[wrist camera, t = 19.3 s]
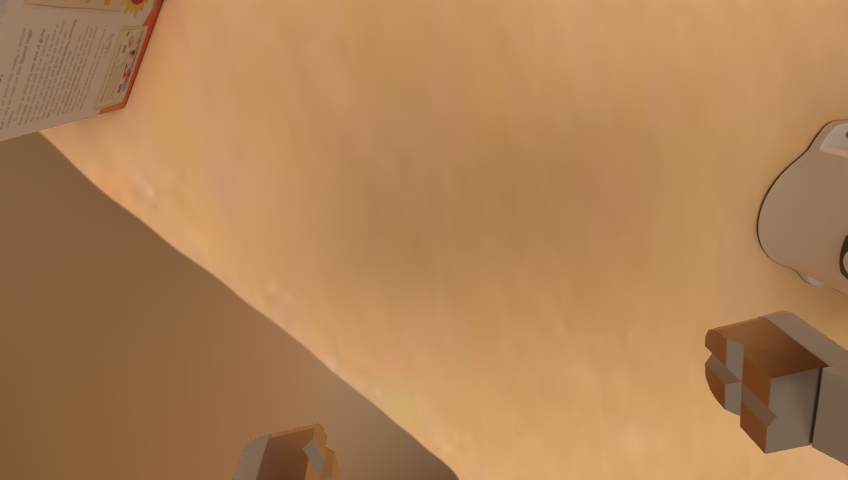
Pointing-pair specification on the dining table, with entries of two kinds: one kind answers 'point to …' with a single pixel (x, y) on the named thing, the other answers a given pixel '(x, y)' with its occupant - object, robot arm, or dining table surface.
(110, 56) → the cracker box
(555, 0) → the dining table surface
